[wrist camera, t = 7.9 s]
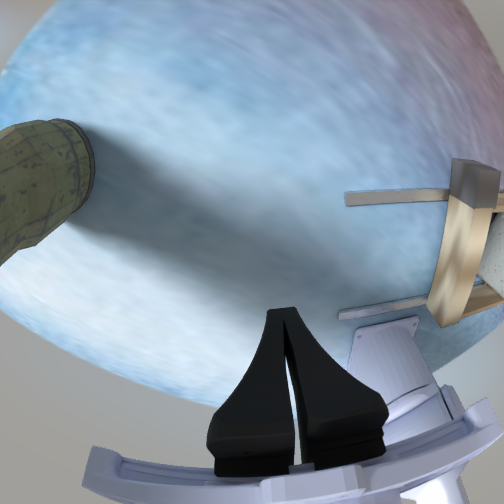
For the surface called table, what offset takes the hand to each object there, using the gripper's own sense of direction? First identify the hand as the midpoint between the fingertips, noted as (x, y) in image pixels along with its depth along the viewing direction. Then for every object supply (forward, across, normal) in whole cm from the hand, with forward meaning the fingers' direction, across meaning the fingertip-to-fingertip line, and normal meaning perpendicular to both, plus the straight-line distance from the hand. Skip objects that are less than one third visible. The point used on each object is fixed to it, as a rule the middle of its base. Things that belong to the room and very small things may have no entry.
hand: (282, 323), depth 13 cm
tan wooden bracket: (+9, -22, +1) cm, 24 cm away
